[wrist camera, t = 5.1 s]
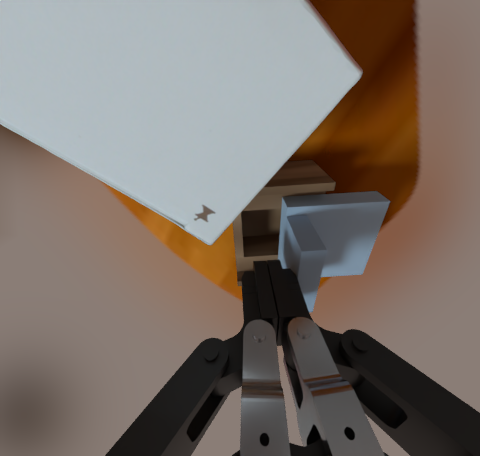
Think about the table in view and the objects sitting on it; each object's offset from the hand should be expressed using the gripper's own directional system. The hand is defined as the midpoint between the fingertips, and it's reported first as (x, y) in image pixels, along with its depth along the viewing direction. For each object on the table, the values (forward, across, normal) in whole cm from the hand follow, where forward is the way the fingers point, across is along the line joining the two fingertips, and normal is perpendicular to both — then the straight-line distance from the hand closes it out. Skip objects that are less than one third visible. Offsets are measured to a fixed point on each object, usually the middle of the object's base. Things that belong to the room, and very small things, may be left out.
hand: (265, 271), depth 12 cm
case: (+7, -1, 0) cm, 7 cm away
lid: (+3, -4, 0) cm, 6 cm away
